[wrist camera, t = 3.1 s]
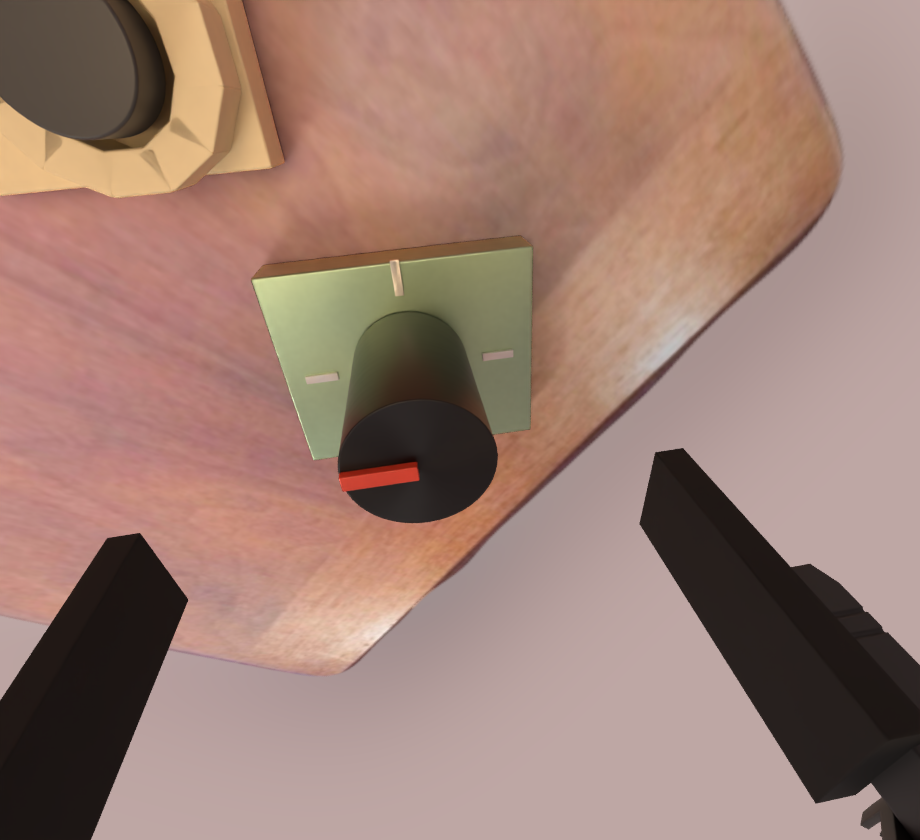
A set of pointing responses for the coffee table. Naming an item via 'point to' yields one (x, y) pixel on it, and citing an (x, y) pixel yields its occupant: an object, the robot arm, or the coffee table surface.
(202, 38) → the button box
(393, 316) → the knob
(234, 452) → the coffee table surface
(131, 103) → the button
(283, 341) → the dial panel
